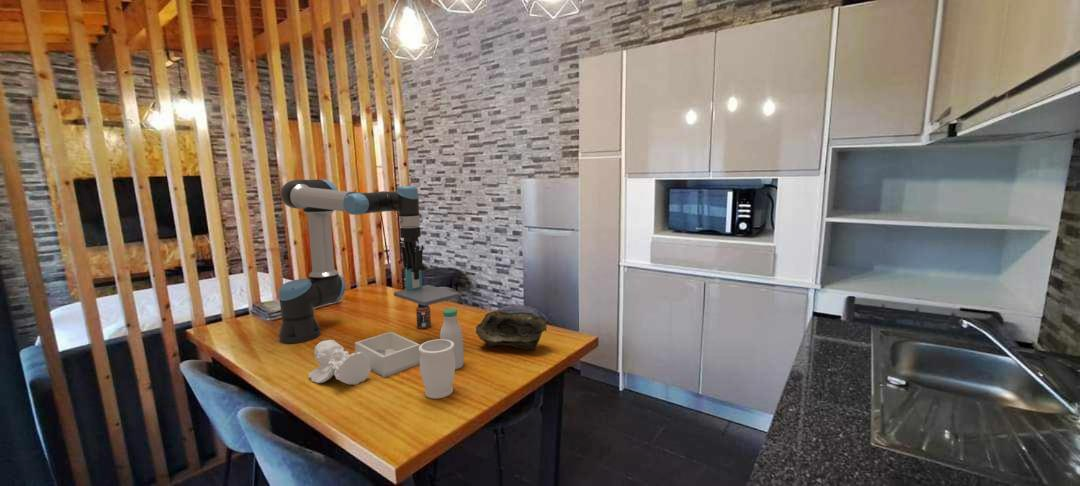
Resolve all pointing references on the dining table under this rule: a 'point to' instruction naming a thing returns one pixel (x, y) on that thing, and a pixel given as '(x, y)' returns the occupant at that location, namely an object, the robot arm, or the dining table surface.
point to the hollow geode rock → (511, 329)
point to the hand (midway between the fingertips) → (414, 286)
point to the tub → (389, 353)
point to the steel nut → (381, 352)
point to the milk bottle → (453, 335)
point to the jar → (437, 367)
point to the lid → (424, 292)
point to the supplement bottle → (423, 316)
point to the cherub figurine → (339, 364)
